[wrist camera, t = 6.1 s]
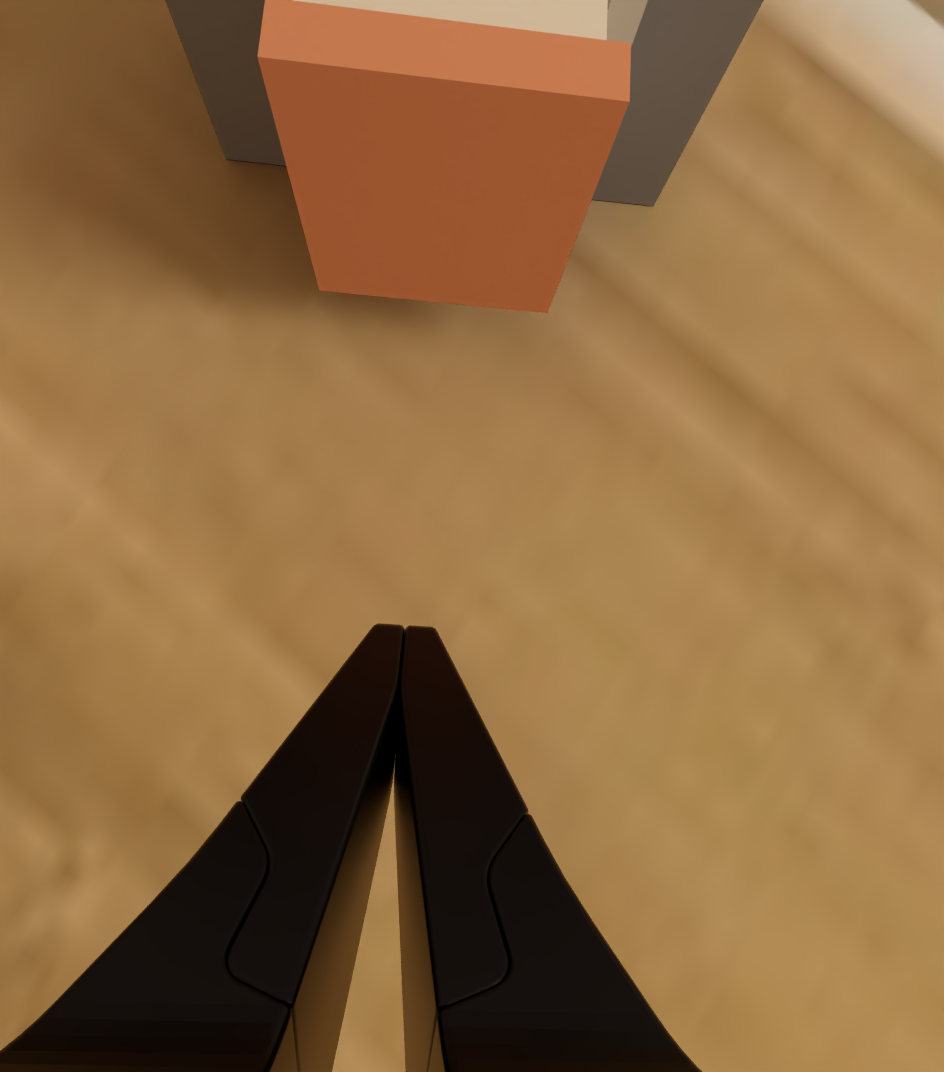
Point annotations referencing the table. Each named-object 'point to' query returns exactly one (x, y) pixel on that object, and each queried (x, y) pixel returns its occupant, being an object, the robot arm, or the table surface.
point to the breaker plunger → (443, 139)
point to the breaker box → (632, 17)
